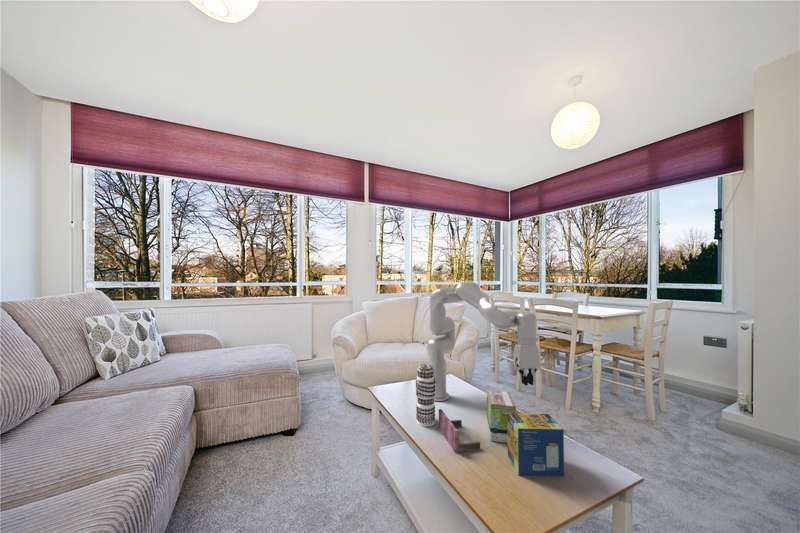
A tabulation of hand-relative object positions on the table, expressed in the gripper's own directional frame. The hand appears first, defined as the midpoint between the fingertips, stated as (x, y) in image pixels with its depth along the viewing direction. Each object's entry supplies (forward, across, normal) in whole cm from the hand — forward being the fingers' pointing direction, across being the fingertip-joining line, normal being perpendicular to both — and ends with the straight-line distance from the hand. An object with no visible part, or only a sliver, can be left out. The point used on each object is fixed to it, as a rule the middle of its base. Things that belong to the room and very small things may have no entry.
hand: (527, 383), depth 124 cm
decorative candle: (+19, +41, -16) cm, 48 cm away
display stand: (+19, +32, 0) cm, 37 cm away
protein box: (+19, +13, +22) cm, 32 cm away
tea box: (+19, +13, 0) cm, 23 cm away
